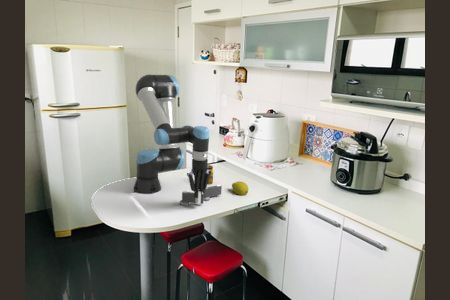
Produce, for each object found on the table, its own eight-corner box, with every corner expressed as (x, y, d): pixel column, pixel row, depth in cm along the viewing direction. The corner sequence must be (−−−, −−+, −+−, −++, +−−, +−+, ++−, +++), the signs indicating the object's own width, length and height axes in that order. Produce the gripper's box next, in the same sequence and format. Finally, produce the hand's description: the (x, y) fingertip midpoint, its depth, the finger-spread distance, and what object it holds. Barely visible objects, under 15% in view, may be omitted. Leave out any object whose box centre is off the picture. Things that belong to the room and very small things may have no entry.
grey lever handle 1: (178, 205, 164) (179, 193, 162) (180, 201, 169) (181, 189, 167) (202, 207, 164) (202, 195, 162) (203, 203, 168) (204, 191, 167)
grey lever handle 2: (203, 201, 170) (204, 190, 168) (199, 198, 174) (199, 187, 172) (222, 197, 177) (223, 186, 175) (217, 194, 181) (218, 183, 179)
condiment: (215, 186, 196) (216, 167, 193) (203, 188, 191) (204, 169, 188) (209, 182, 202) (210, 163, 198) (197, 184, 197) (198, 165, 194)
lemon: (251, 196, 184) (252, 183, 181) (240, 199, 179) (241, 186, 177) (238, 190, 192) (239, 177, 189) (228, 193, 187) (229, 180, 185)
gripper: (192, 162, 149) (190, 208, 156) (215, 159, 157) (212, 203, 163) (184, 157, 155) (182, 202, 162) (207, 154, 163) (205, 197, 169)
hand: (197, 203), depth 163 cm, fingers closed
